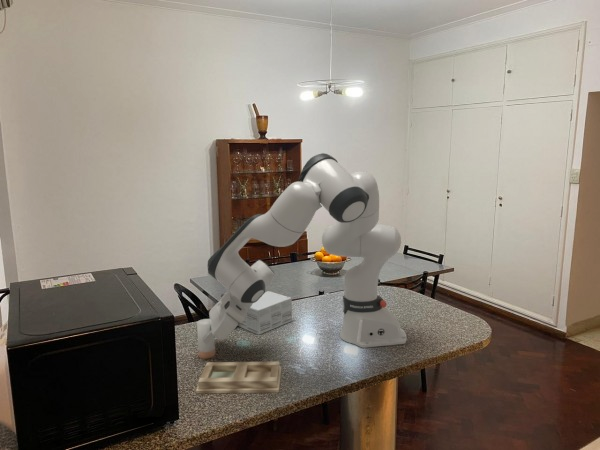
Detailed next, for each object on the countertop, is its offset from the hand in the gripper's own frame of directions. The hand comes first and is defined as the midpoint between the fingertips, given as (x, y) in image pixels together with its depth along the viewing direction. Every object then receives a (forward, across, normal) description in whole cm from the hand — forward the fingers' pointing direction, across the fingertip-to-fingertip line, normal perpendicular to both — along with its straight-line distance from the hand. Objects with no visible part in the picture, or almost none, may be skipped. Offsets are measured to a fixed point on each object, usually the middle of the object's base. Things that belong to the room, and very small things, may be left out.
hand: (203, 337), depth 138 cm
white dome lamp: (+4, 0, +5) cm, 6 cm away
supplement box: (-12, -20, +20) cm, 31 cm away
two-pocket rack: (-2, +19, +11) cm, 22 cm away
